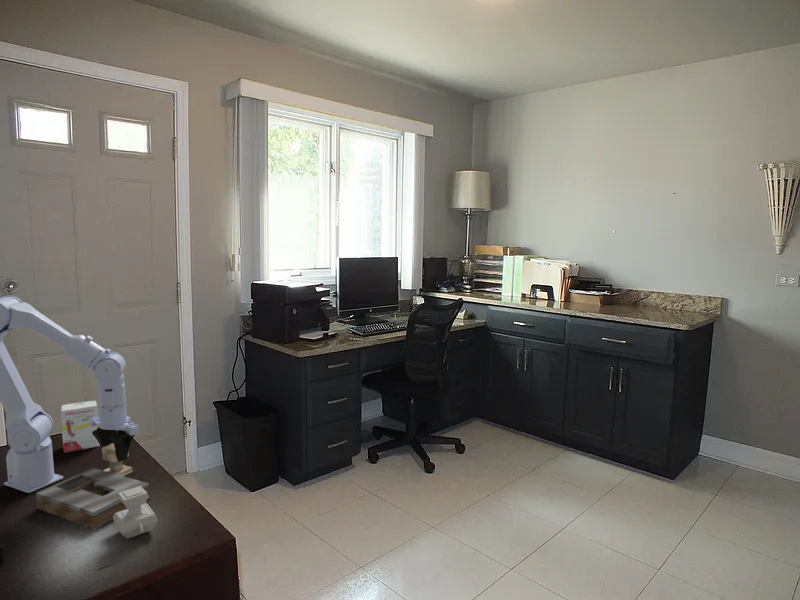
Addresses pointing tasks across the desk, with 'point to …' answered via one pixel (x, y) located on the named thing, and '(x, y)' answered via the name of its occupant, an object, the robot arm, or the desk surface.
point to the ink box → (78, 426)
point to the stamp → (134, 513)
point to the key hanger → (114, 461)
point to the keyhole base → (80, 515)
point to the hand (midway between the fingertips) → (115, 458)
